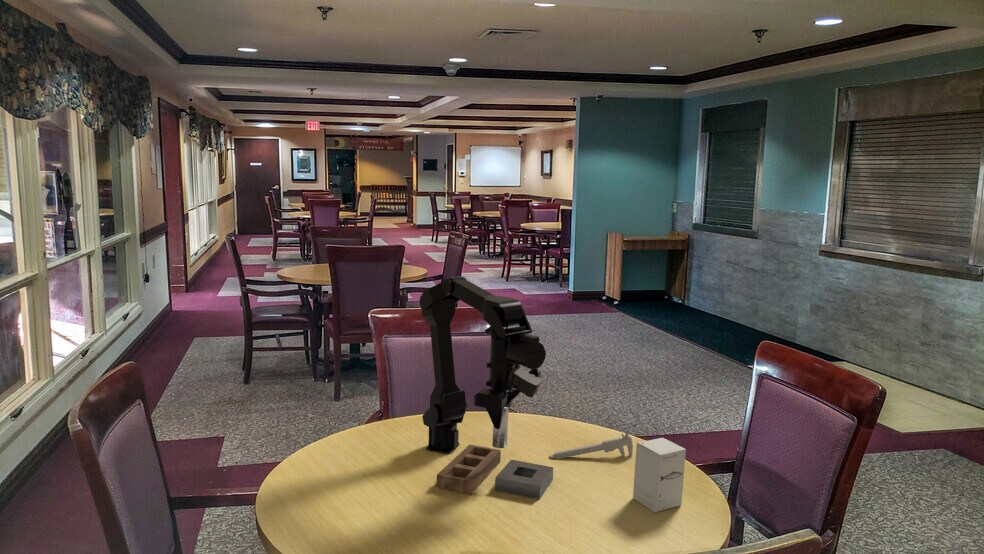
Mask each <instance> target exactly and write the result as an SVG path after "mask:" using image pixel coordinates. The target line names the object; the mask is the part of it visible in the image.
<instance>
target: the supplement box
mask: <svg viewBox="0 0 984 554" xmlns="http://www.w3.org/2000/svg"><path fill="white" fill-rule="evenodd" d="M635 449H636V450H635V464H634V474H633V475H634V477H633V489H632V490H633V491H632V498H633V500H635V501H637V502H638V503H640V504H641V505H643V506H644V507H645V508H647V509H648V510H650V511H651V512H653V513H655V514H656V513H658V512H662V511H665V510H669V509H672V508H676V507H680V506H682V504H683V493H684V478H685V476H684V475H685V465H686V454H687V449H686V448H685V447H682V446H681V445H679V444H676V443H674V442H673V441H671V440H668V439H666V438H664V437H658V438H654V439H650V440H644V441H639V442H636V448H635Z"/></svg>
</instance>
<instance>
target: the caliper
mask: <svg viewBox="0 0 984 554" xmlns="http://www.w3.org/2000/svg"><path fill="white" fill-rule="evenodd" d="M625 446H626V448H627V451H628V456H629V457H630V456H631V457H632V456H633V452H634V451H633V448H634V447H633V446H634V444H633V439H632V437H631V435H629V432H628V431H627V432H625V434H624V433H621V437H615V438H611V439H606V440H603V441H602V442H601V443H595V444H589V445H585V446H579V447H575V448H570V449H564V450H560V451H555V452H553V454H550V455H549V456H548V458H549V459H557V460H558V459H559V458H562V459H565V458H570V457H571V458H572V457H574V456H580V455H585V454H590V453H596V452H600V451H601V452H602V451H604V453H608V452H614V451H615V450H617V449H618V451H619V453H620V455H621V456H622V457H623V458H626V455H625V450H624V447H625Z"/></svg>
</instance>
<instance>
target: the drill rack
mask: <svg viewBox="0 0 984 554" xmlns="http://www.w3.org/2000/svg"><path fill="white" fill-rule="evenodd" d="M501 452H502V451H501V449H499V448H492V447H485V446H481V445H475V444H471V443H470V444H468V445H467V446H466V447H465V448H463V450H462V451H460V452H459V453H458V455H456V456H455V457H454V458H453V459H452V460H451V461H450V462H449V463H447V464H446V465H445V466H443V467H444V468H442V469H441V470H440V471H439V472H438V473H437V474H436V489H441V490H447V491H450V492H456V493H461V494H465V495H469V496H471V495H472V494H473V493H474V492H475V491H476V490H477V489H478V487H480V485H482V484H483V482H484V481H485V480H486V479H487V478H488V476H489V475H490V474H491V473H492V472H493V471H494V470H495V469H496V467H497V466H498V465H500V463H501V455H502V454H501Z"/></svg>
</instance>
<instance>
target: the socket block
mask: <svg viewBox="0 0 984 554" xmlns="http://www.w3.org/2000/svg"><path fill="white" fill-rule="evenodd" d="M494 479H495V483H494V484H495V485H494V487H495V488H494V490H495V491H497V492H501V493H505V494H506V493H507V494H510V495H516V496H521V497H525V498H530V499H534V500H541V498H542V497H543V495H544V493H546V491H547V490H548V487H550V485H551V483H553V480H554V466H548V465H544V464H538V463H532V462H528V461H527V462H526V461H522V460H515V459H510V460H509V461H508V462H507V464H506V465H505V466H504V467H503V468H502V469H501V470H500V471H499V472H498V474H497V475H496V476H495V478H494Z"/></svg>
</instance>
